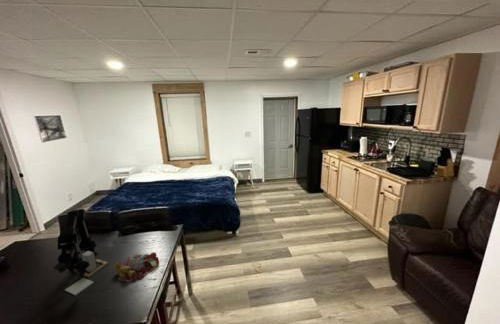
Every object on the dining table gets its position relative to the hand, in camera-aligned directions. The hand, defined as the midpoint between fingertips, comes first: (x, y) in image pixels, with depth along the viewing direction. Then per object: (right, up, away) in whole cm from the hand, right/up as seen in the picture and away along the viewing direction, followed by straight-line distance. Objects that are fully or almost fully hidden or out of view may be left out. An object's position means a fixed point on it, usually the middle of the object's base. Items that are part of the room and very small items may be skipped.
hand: (77, 275), depth 122 cm
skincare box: (-4, -5, +16) cm, 17 cm away
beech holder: (-3, -4, +17) cm, 18 cm away
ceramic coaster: (0, -7, +2) cm, 8 cm away
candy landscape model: (+27, -4, +16) cm, 32 cm away
